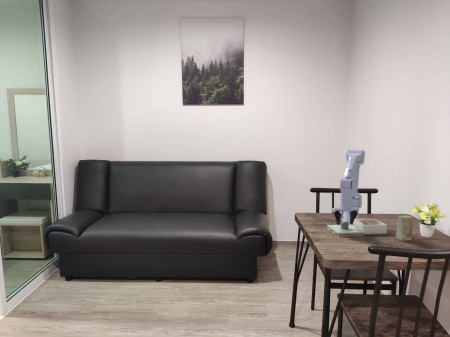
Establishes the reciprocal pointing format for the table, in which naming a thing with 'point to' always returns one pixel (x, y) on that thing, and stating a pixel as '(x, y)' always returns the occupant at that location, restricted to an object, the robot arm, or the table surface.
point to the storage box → (370, 226)
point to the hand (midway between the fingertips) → (344, 224)
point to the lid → (345, 228)
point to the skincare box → (404, 228)
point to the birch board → (344, 234)
